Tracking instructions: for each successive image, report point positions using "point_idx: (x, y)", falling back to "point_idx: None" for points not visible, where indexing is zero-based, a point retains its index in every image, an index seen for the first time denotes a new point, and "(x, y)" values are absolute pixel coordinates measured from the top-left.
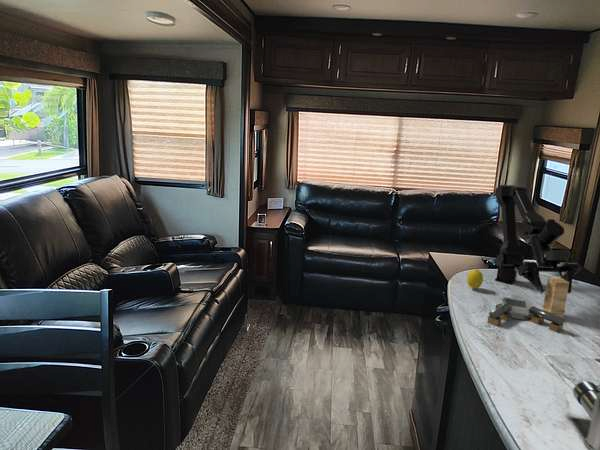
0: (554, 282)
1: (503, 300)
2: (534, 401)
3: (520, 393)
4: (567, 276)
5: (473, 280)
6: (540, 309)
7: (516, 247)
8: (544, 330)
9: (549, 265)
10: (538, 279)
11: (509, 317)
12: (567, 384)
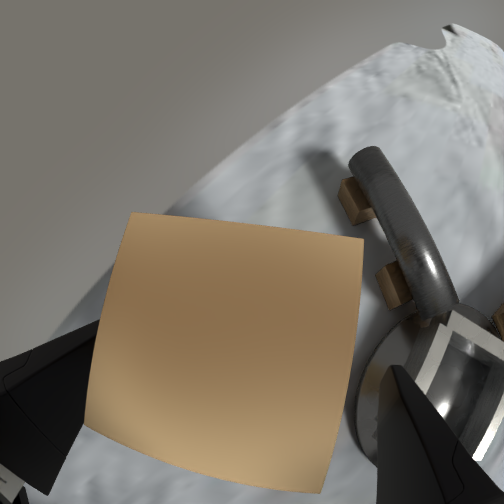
0: (356, 284)
1: (496, 428)
2: (486, 56)
3: (499, 68)
4: (3, 408)
5: None
6: (429, 256)
7: None
8: None
9: None
10: (455, 464)
11: (500, 310)
12: (442, 51)
